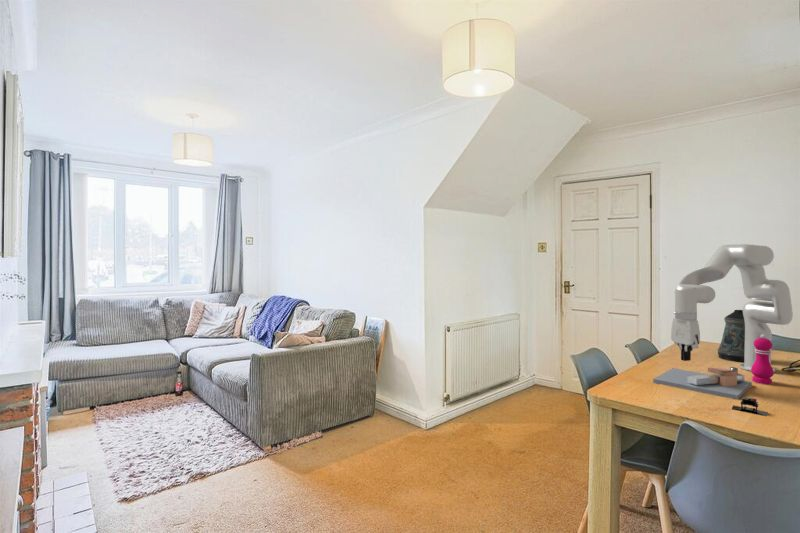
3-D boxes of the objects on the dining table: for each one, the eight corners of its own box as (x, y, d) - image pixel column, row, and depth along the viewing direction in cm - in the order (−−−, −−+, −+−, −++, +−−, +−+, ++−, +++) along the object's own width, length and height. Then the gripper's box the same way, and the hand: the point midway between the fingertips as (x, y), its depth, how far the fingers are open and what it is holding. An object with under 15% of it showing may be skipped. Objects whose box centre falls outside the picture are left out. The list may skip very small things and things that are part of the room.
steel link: (732, 377, 178) (732, 365, 178) (746, 381, 172) (747, 369, 172) (685, 381, 173) (685, 369, 172) (698, 385, 167) (699, 373, 167)
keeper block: (719, 383, 176) (719, 367, 176) (736, 389, 169) (737, 371, 169) (707, 384, 175) (707, 367, 175) (724, 390, 168) (724, 372, 168)
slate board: (672, 371, 195) (673, 368, 195) (751, 385, 174) (751, 381, 174) (653, 382, 178) (653, 378, 178) (737, 399, 157) (737, 395, 157)
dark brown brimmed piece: (725, 410, 148) (725, 397, 147) (728, 405, 153) (728, 392, 153) (772, 420, 139) (773, 406, 139) (774, 414, 144) (774, 400, 144)
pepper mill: (777, 385, 175) (778, 336, 174) (757, 384, 176) (758, 335, 175) (766, 380, 182) (767, 333, 181) (746, 379, 183) (748, 332, 183)
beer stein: (710, 357, 223) (711, 309, 222) (732, 353, 231) (734, 307, 230) (746, 364, 208) (747, 313, 207) (769, 360, 216) (770, 311, 215)
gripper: (663, 314, 184) (663, 356, 184) (694, 319, 169) (694, 365, 170) (678, 313, 185) (678, 355, 186) (709, 318, 171) (709, 364, 171)
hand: (685, 360), depth 178 cm, fingers closed
